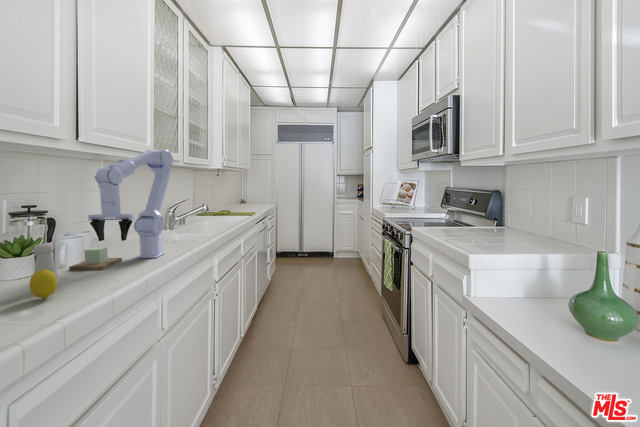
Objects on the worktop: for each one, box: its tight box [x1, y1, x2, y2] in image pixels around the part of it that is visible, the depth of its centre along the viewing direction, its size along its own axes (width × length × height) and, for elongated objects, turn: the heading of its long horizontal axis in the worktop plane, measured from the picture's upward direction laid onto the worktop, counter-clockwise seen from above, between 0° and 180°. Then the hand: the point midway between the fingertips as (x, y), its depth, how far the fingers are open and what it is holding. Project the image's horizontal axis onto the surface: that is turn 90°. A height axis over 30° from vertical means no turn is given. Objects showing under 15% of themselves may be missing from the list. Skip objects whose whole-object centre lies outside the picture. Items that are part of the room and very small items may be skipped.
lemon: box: [29, 269, 58, 300], centre depth 87 cm, size 6×6×8 cm
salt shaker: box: [33, 242, 60, 286], centre depth 94 cm, size 6×6×13 cm
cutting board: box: [68, 257, 123, 271], centre depth 122 cm, size 13×11×1 cm
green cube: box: [84, 246, 109, 264], centre depth 122 cm, size 5×5×5 cm
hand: (112, 240), depth 120 cm, fingers open, 7 cm apart
